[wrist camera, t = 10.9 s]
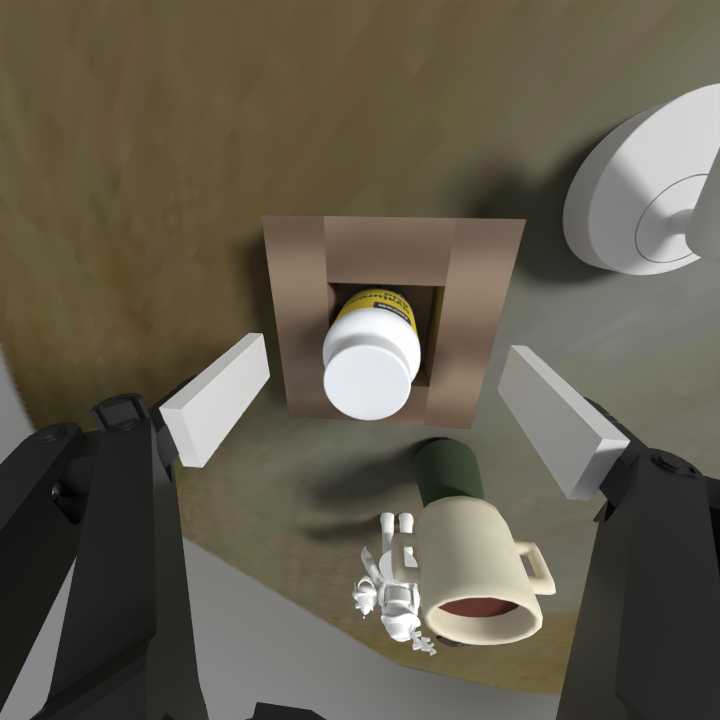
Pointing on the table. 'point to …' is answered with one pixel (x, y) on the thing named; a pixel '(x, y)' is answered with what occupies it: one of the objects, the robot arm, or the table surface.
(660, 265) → the white tilted tube stand
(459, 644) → the knife
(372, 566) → the hat wearing toy figure
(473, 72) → the table surface
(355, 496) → the table surface
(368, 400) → the supplement bottle
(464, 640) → the character mug
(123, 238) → the table surface
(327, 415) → the well block
